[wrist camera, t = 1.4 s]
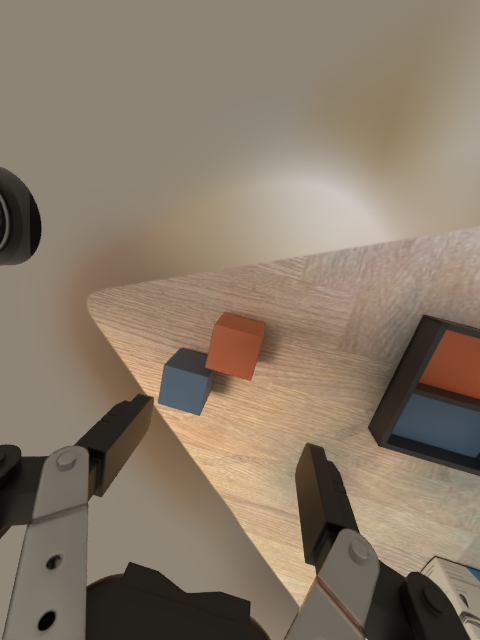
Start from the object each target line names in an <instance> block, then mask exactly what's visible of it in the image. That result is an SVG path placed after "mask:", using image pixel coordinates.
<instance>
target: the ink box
mask: <svg viewBox="0 0 480 640" xmlns="http://www.w3.org/2000/svg"><path fill="white" fill-rule="evenodd" d="M421 574H424V575H425V576H427V577H428V578H430V579H431V580H432V581H433V582H435V583H436V584H437V585H438V586H439V587H440V588H441V589H442V591H443V592H444V593H445V594H446V596H447V597H448V598H449V600H450V601H451V603H452V604H453V606H454V608H455V610H456V612H457V614H458V616H459V618H460V620H461V622H462V624H463V626H464V628H465V630H466V632H467V634H468V636H469V638H470V640H480V572H479V571H476V570H473V569H470V568H467V567H464V566H461V565H458V564H455V563H452V562H449V561H446V560H443V559H440V558H437V557H435V558H434V559H433V560H432V561H431V562H430V563H429V564H428V565H427V566H426V567H425V568H424V569H423V571H422V572H421Z"/></svg>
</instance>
